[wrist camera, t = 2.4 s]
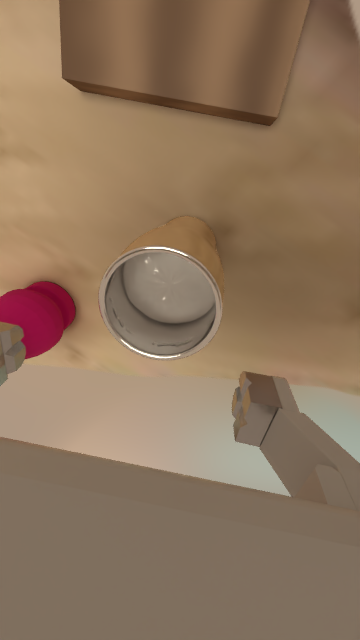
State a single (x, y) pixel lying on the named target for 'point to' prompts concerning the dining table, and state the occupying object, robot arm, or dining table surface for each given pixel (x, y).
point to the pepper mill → (38, 315)
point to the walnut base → (184, 52)
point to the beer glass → (165, 291)
